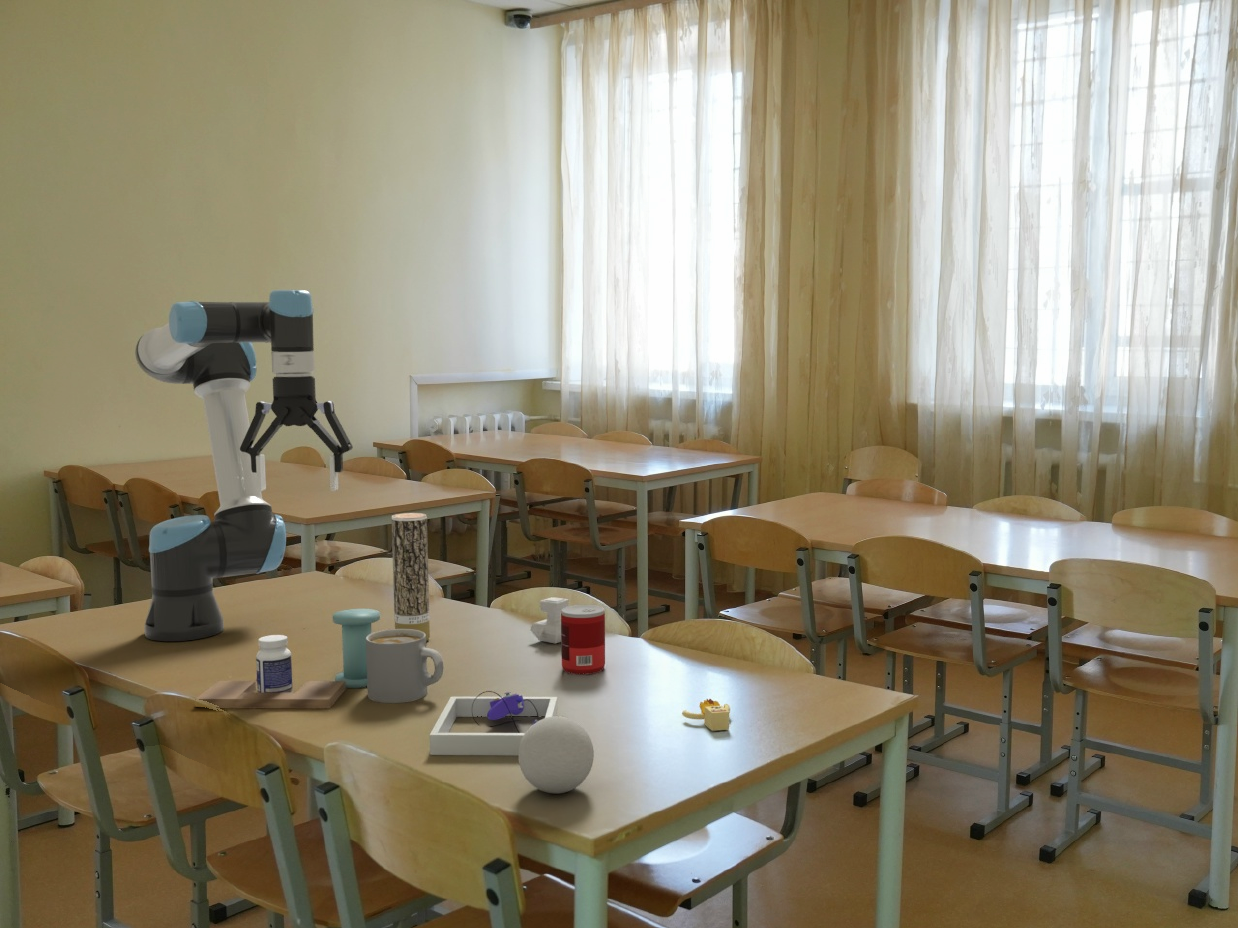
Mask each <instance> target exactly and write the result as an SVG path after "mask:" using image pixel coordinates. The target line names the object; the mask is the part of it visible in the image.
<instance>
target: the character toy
mask: <svg viewBox="0 0 1238 928" xmlns="http://www.w3.org/2000/svg"><path fill="white" fill-rule="evenodd" d="M699 708H700V709H699V710H700V712H701V713H694V712H690V711H687V710H683V711H682V713H681V715H682V716H683V717H685V718H686V719H691V720H698V721H699V720H700V721H701V720H703V721H704V725H705V726H706V727H707V729H709V730H710V731H712V732H713V731H716V732H717V731H728V730H730V712H731V706H730V704H728V703H724V705H723V706H722V705H721V704H720V703H719V702H718V701H717V700H713V699H711V698H709V699H708V698H706V699H704V700H703V701H700V703H699Z"/></svg>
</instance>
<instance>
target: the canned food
mask: <svg viewBox="0 0 1238 928" xmlns="http://www.w3.org/2000/svg"><path fill="white" fill-rule="evenodd" d="M605 612H606V611H605V608H604V607H602V606H600V605H595V604H575V605H568V606H566V607H565V608H563V609H562V610H561V613H560V618H561V642H560V644H561V645H560V646H561V649H560V651H561V653H560V654H561V667H562V670H563V671H564V672H566V673H567V674H572V675H591V674H596V673H600V672H602V671H603V670H604V669H605V665H606V616H605V615H606V613H605Z"/></svg>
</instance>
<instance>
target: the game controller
mask: <svg viewBox="0 0 1238 928" xmlns="http://www.w3.org/2000/svg"><path fill="white" fill-rule="evenodd" d="M511 692H512V691H506V692H504V693H503V695H504V696H501V694H499V693H497V692H496V691H492V690H491V691H490V690H486V691H483V692H481V693H480V694H478V695H477V696H475V697H476V698H477V697H480V696H481V695H482V694H485V693H494V694H496V695H497V696H498V697H501V698H502V697H503V698H502V699H499V698H495V699H494V700H493V701H491V702H490V706H491V708H490V710H489V711H488V713H487V717H486V718H487V719H488V720H489V721H496V720H500V719H502V718H506V717H505V716H506V715H508V714H509V713H510V715H511V714H513V715H518V714H520V713H521V712H522V711H523V709H524V701H525V700H528V699H525V700H523V697H524V696H523V695H519V694H517V693H514V694H513V693H512V694H511ZM476 698H475V699H476ZM474 701H475V700H474ZM528 701H530V700H528ZM530 702H531V701H530ZM473 703H474V702H473ZM531 703H532V702H531ZM532 704H533V703H532ZM533 706H534V705H533ZM472 707H473V704H472ZM534 708H535V706H534ZM535 709H536V708H535ZM536 712H537V710H536ZM472 716H473V713H472ZM537 716H538V713H537ZM472 718H473V720H474V722H475V723H476V725H478V726H479V725H480V724H479V723H477V721H476V720H475V717H472ZM510 718H511V719H512V720H511V721H507V722H502V723H500V724H495V725H490V727H489V728H493V727H497V726H501V725H505V724H508V723H513V725H514V727H515V729H516V731H517V733H520V731H519V729H518V728H517V725H516V722H518V721H519V722H520V721H523V719H517V720H514V717H512V715H511V717H510ZM538 721H539V720H538V719H537V718H536V719H534V721H533V723H532V725H533V724H535V723H536V722H538ZM532 725H531V726H532Z"/></svg>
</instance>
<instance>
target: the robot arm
mask: <svg viewBox="0 0 1238 928" xmlns="http://www.w3.org/2000/svg"><path fill="white" fill-rule="evenodd" d="M268 300H269V301H229V302H228V301H195V300H190V301H178V302H175V303H173V304H172V306H171V307H170V311H169V315H168V322H167V323H166V324H165V325H164V326H162V327H156V328H155V327H154V328H151V329H150V330H148V331H146V332H145V333H143V335H142V336H141V337H140V338H139V339H138V341H137V343H136V346H135V349H134V354H135V355H134V356H135V360H136V362H137V364H138V366H139V367H140V369H141V370H142V371H143V372H144V373H145V374H147V375H148V376H149V377H151V378H153V379H155V380H157V381H160V382H163V383H168V384H174V385H175V384H176V385H178V384H179V385H180V384H183V385H184V384H185V385H187V384H190V385H191V384H192V387H193V392H194V395H196V396H197V397H198V398H199V399H202V401H203V406H204V414H205V420H206V426H207V432H208V437H209V444H210V448H211V449H210V450H211V455H212V462H213V469H214V474H215V481H216V486H217V493H218V499H219V504H220V505H219V508H217V510H216V511H215V512H214V520H213V521H211V519H210V517H209V516H208V515H204V514H195V515H185V516H179V517H175V518H170V519H167V520H164V521H161V522H160V523H157V524H156V525H154V526H153V527H152V528H151V530H150V531H149V545H148V546H149V547H148V552H149V558H150V562H149V563H150V579H151V580H150V581H151V594H152V595H151V596H152V597H151V601H150V605H149V607H148V613H147V614H146V619H145V623H144V636H145V638H146V639H148V640H152V641H158V642H184V641H185V642H186V641H193V640H199V639H205V638H208V637H212V636H213V637H214V636H215V635H218V634H219V633H222V632H223V631H224V628H225V626H224V624H225V623H224V617H223V614H222V612H221V608H220V607H219V605H218V602H217V599H216V597H215V594H214V586H213V585H214V584H213V579H217V578H226V577H233V576H234V577H235V576H242V575H243V576H244V575H250V574H255V575H258V574H261V573H264V572H270V571H271V572H272V571H274V570H276V569H278V567H280V565H281V564H282V561H283V559H284V556H285V552H286V544H287V530H286V529H287V528H286V524H285V522H284V518H283V517H282V516H281V515H279V514H278V513H277V514H273V509H272V505H271V504H270V503H269V502H267V501H265V500H264V499H263V494H262V492H263V491H265V490H267V481H266V480H267V479H266V455H265V454H262V451H263V450H264V449H265V447H267V445H268V444H269V442H270V441H271V440H272V439H273V438H274V436H275V435H276V433H277V432H278V431H279V430H280V428H282V427H283V426H285V427H292V426H297V427H304V426H306V425H307V426H308V428H310V429H311V430H312V431H313V432H314V433H315V434H316V436H317V437H318V438H319V439H320V440H321V441H322V442H323V443H324V445H325V446H326V447H327V448H328V449H329V451H331V453H333V454H331V455H329V459H328V461H329V481H330V482H329V483H330V486H329V487H330V489H329V490H330V492H336V491H338V490H339V473H342V472H343V470H344V459H343V458H344V454H345V453H347V452H350V451H352V450H353V444H352V442H351V441H350V439H349V436H348V435H347V433H346V431H345V429H344V427H343V425H342V424H341V422H340V420H339V418H338V416H337V415H336V412H335V407H334V402H333V401H332V400H328V401H327V400H326V401H324V402H317V397H316V396H317V395H316V378H315V377H314V375H312V374H314V373H315V372H316V371H315V368H316V367H315V351H314V348H315V347H314V346H315V344H314V308H313V302H312V301H313V299H312V294H311V293H310V291H307V290H304V289H277V290H271V292H270V293H269V299H268ZM253 343H265V344H266V343H270V344H271V349H270V350H271V366H272V368H271V369H272V371H271V373H273V374H275V376H273V378H272V396H273V401H272V402H266V401H264V400H261V401H257V402H256V404H255V411H254V412H255V414H254V416H253V418H252V420H251V422H250V419H249V418H250V417H249V413H248V406H247V401H246V396H245V395H246V393H247V391H248V390H249V389H250V388H251V382H252V381H254V380H255V378H256V376H257V365H256V364H257V357H256V352H255V348H254V345H253ZM270 410H271V411H272V412H273V414H274V415H275V416H276V417H275V418H274V419H273V420H272V421H271V423H270V424H269V426H268V427H267V429H266V430H265V432H263V434H262V435H261V436H260V437H259V439H258V440H257V441H256V443H255V444H254V442H255V440H256V438H257V435H258V434H259V432H260V429H261V427H262V425H263V422H264V420H265V417H266V415H267V414H269V413H270ZM318 410H319V411H320V412H321V414H324V416H325V419H326V420H327V422H328V424H329V426H330V428H331V429H332V432H333V433H334V435H335V438H336V439H337V441H338V442H337V441H336V440H335V438H334V437H333V436H332V435H331V433H329V431H327V430H326V428H325V427H324V425H322V424H321V422H320V420H319V419H318V418H317V417H316V416H315V415H316V413H317V412H318Z"/></svg>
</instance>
